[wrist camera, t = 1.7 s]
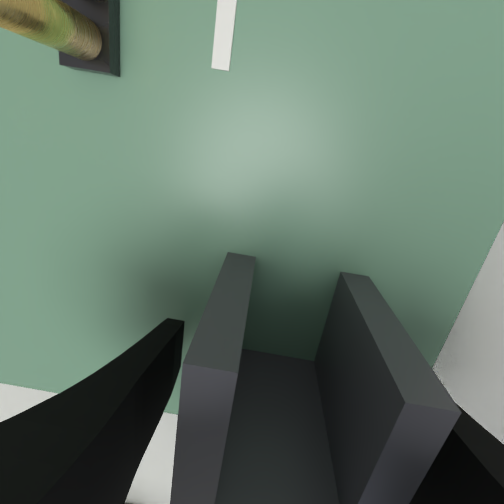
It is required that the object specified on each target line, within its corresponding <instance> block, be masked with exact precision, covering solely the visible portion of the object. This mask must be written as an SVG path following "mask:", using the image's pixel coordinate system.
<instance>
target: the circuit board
mask: <svg viewBox="0 0 504 504" xmlns="http://www.w3.org/2000/svg"><path fill="white" fill-rule="evenodd" d="M503 222H504V0H120V77H115V76H109V75H103V74H97V73H91V72H86V71H80V70H74V69H71V68H68V67H65V66H62V65H59V51H58V50H56V49H53V48H51V47H48V46H46V45H43V44H41V43H39V42H36V41H34V40H31V39H29V38H26V37H24V36H21V35H19V34H16V33H14V32H11V31H9V30H6V29H4V28H1V27H0V383H3V384H9V385H15V386H20V387H26V388H32V389H37V390H43V391H48V392H54V393H61V392H63V391H64V390H66V389H68V388H70V387H71V386H73V385H75V384H76V383H78V382H80V381H81V380H83V379H85V378H86V377H88V376H89V375H91V374H93V373H94V372H96V371H97V370H99V369H100V368H102V367H103V366H105V365H106V364H107V363H109V362H110V361H112V360H113V359H115V358H116V357H118V356H119V355H120V354H122V353H123V352H125V351H126V350H127V349H128V348H130V347H131V346H132V345H134V344H135V343H136V342H138V341H139V340H140V339H142V338H143V337H144V336H145V335H147V334H148V333H149V332H150V331H152V330H153V329H154V328H155V327H156V326H158V325H159V324H160V323H161V322H163V321H164V320H165V319H167V318H171V319H177V320H183V321H185V325H184V336H183V348H182V359H181V368H180V371H179V374H178V377H177V380H176V383H175V386H174V389H173V392H172V395H171V397H170V399H169V401H168V403H167V406H166V408H165V410H164V412H167V413H172V414H178V410H179V399H180V388H181V376H182V365H183V361H184V359H185V356H186V354H187V351H188V349H189V346H190V344H191V342H192V339H193V337H194V334H195V332H196V329H197V327H198V324H199V322H200V319H201V317H202V314H203V312H204V310H205V307H206V305H207V302H208V300H209V297H210V295H211V292H212V290H213V287H214V285H215V283H216V280H217V278H218V275H219V273H220V270H221V268H222V265H223V263H224V260H225V258H226V255H227V253H228V252H231V253H236V254H242V255H248V256H254V257H256V260H255V267H254V273H253V280H252V286H251V293H250V299H249V306H248V312H247V318H246V325H245V331H244V338H243V344H242V349H248V350H253V351H259V352H265V353H271V354H276V355H282V356H288V357H293V358H299V359H305V360H310V361H314V360H315V357H316V353H317V350H318V346H319V343H320V340H321V336H322V333H323V329H324V326H325V323H326V319H327V316H328V313H329V309H330V306H331V302H332V299H333V296H334V292H335V289H336V286H337V282H338V279H339V275H340V272H346V273H352V274H358V275H364V276H369V277H370V279H371V280H372V282H373V283H374V285H375V286H376V287H377V289H378V290H379V292H380V293H381V295H382V296H383V298H384V299H385V301H386V302H387V304H388V305H389V307H390V308H391V309H392V311H393V312H394V314H395V315H396V317H397V318H398V320H399V321H400V323H401V324H402V326H403V327H404V329H405V330H406V332H407V333H408V334H409V336H410V337H411V339H412V340H413V342H414V343H415V345H416V346H417V348H418V349H419V351H420V352H421V354H422V355H423V356H424V358H425V359H426V361H427V362H428V364H429V365H430V367H431V368H432V367H433V365H434V363H435V361H436V359H437V357H438V355H439V353H440V351H441V349H442V347H443V345H444V343H445V341H446V339H447V337H448V334H449V332H450V330H451V328H452V326H453V324H454V322H455V320H456V318H457V316H458V314H459V312H460V310H461V308H462V306H463V304H464V302H465V300H466V298H467V296H468V293H469V291H470V289H471V287H472V285H473V283H474V281H475V279H476V277H477V275H478V273H479V271H480V269H481V267H482V265H483V263H484V261H485V259H486V257H487V255H488V252H489V250H490V248H491V246H492V244H493V242H494V240H495V238H496V236H497V234H498V232H499V230H500V228H501V226H502V224H503Z"/></svg>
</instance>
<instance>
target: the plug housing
mask: <svg viewBox="0 0 504 504" xmlns="http://www.w3.org/2000/svg"><path fill="white" fill-rule="evenodd" d="M255 260H256V257H254V256H248V255H242V254H236V253H231V252H228V253H227V255H226V258H225V260H224V263H223V265H222V268H221V270H220V273H219V275H218V278H217V280H216V283H215V285H214V287H213V290H212V292H211V295H210V297H209V300H208V302H207V305H206V307H205V310H204V312H203V314H202V317H201V319H200V322H199V324H198V327H197V329H196V332H195V334H194V337H193V339H192V342H191V344H190V346H189V349H188V351H187V354H186V356H185V359H184V361H183V365H182V376H181V388H180V399H179V410H178V421H177V433H176V444H175V455H174V467H173V478H172V489H171V500H170V504H409V503H410V501H411V500H412V498H413V496H414V494H415V493H416V491H417V489H418V487H419V486H420V484H421V482H422V480H423V479H424V477H425V475H426V473H427V472H428V470H429V468H430V467H431V465H432V463H433V461H434V460H435V458H436V456H437V454H438V453H439V451H440V449H441V447H442V446H443V444H444V442H445V440H446V439H447V437H448V435H449V434H450V432H451V430H452V428H453V427H454V425H455V423H456V421H457V420H458V418H459V416H460V414H461V413H462V412H461V411H460V409H459V408H458V406H457V405H456V403H455V402H454V401H453V399H452V398H451V396H450V395H449V393H448V392H447V390H446V389H445V387H444V386H443V384H442V383H441V381H440V380H439V379H438V377H437V376H436V374H435V373H434V371H433V370H432V368H431V367H430V365H429V364H428V362H427V361H426V359H425V358H424V356H423V355H422V354H421V352H420V351H419V349H418V348H417V346H416V345H415V343H414V342H413V340H412V339H411V337H410V336H409V334H408V333H407V332H406V330H405V329H404V327H403V326H402V324H401V323H400V321H399V320H398V318H397V317H396V315H395V314H394V312H393V311H392V309H391V308H390V307H389V305H388V304H387V302H386V301H385V299H384V298H383V296H382V295H381V293H380V292H379V290H378V289H377V287H376V286H375V285H374V283H373V282H372V280H371V279H370V277H369V276H364V275H358V274H352V273H346V272H340V275H339V279H338V282H337V286H336V289H335V292H334V296H333V299H332V302H331V306H330V309H329V313H328V316H327V319H326V323H325V326H324V329H323V333H322V336H321V340H320V343H319V346H318V350H317V353H316V357H315V360H314V361H310V360H305V359H299V358H293V357H288V356H282V355H276V354H271V353H265V352H259V351H253V350H248V349H242V344H243V338H244V331H245V325H246V318H247V312H248V306H249V299H250V293H251V286H252V280H253V273H254V267H255Z"/></svg>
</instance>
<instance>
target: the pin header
mask: <svg viewBox="0 0 504 504" xmlns="http://www.w3.org/2000/svg"><path fill="white" fill-rule="evenodd" d="M0 27H1V28H4V29H6V30H9V31H11V32H14V33H16V34H19V35H21V36H24V37H26V38H29V39H31V40H34V41H36V42H39V43H41V44H43V45H46V46H48V47H51V48H53V49H56V50H58V51H59V65H62V66H65V67H68V68H71V69H74V70H80V71H86V72H91V73H97V74H103V75H109V76H115V77H120V0H0Z"/></svg>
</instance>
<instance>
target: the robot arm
mask: <svg viewBox="0 0 504 504" xmlns="http://www.w3.org/2000/svg"><path fill="white" fill-rule="evenodd" d="M184 325H185V321H183V320H177V319H171V318H167V319H165V320H164V321H163V322H161V323H160V324H159V325H158V326H156V327H155V328H154V329H153V330H152V331H150V332H149V333H148V334H147V335H145V336H144V337H143V338H142V339H140V340H139V341H138V342H136V343H135V344H134V345H132V346H131V347H130V348H128V349H127V350H126V351H125V352H123V353H122V354H120V355H119V356H118V357H116V358H115V359H113V360H112V361H110V362H109V363H107V364H106V365H105V366H103V367H102V368H100V369H99V370H97V371H96V372H94V373H93V374H91V375H89V376H88V377H86V378H85V379H83V380H81V381H80V382H78V383H76V384H75V385H73V386H71V387H70V388H68V389H66V390H64V391H63V392H61V393H59V394H57V395H55V396H53V397H51V398H49V399H47V400H45V401H43V402H41V403H39V404H37V405H35V406H33V407H32V408H30V409H28V410H26V411H24V412H22V413H20V414H18V415H16V416H13V417H11V418H9V419H7V420H5V421H2V422H0V504H124V503H125V500H126V498H127V495H128V492H129V489H130V487H131V484H132V481H133V479H134V476H135V474H136V471H137V469H138V467H139V464H140V462H141V460H142V457H143V455H144V453H145V451H146V449H147V447H148V445H149V442H150V440H151V438H152V436H153V434H154V432H155V429H156V427H157V425H158V423H159V421H160V419H161V417H162V414H163V412H164V410H165V408H166V406H167V403H168V401H169V399H170V397H171V395H172V392H173V389H174V386H175V383H176V380H177V377H178V374H179V371H180V368H181V359H182V348H183V336H184ZM456 405H457V404H456ZM457 406H458V405H457ZM458 408H459V409H460V411H461V412H462V413H461V414H460V416H459V418H458V420H457V421H456V423H455V425H454V427H453V428H452V430H451V432H450V434H449V435H448V437H447V439H446V440H445V442H444V444H443V446H442V447H441V449H440V451H439V453H438V454H437V456H436V458H435V460H434V461H433V463H432V465H431V467H430V468H429V470H428V472H427V473H426V475H425V477H424V479H423V480H422V482H421V484H420V486H419V487H418V489H417V491H416V493H415V494H414V496H413V498H412V500H411V501H410V503H409V504H504V444H502V443H501V442H500V441H499V440H498V439H496V438H495V437H494V436H493V435H492V434H490V433H489V432H488V431H487V430H486V429H484V428H483V427H482V426H481V425H480V424H479V423H477V422H476V421H475V420H474V419H473V418H472V417H471V416H469V415H468V414H467V413H466V412H465V411H464V410H463V409H462V408H460V407H459V406H458Z"/></svg>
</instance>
